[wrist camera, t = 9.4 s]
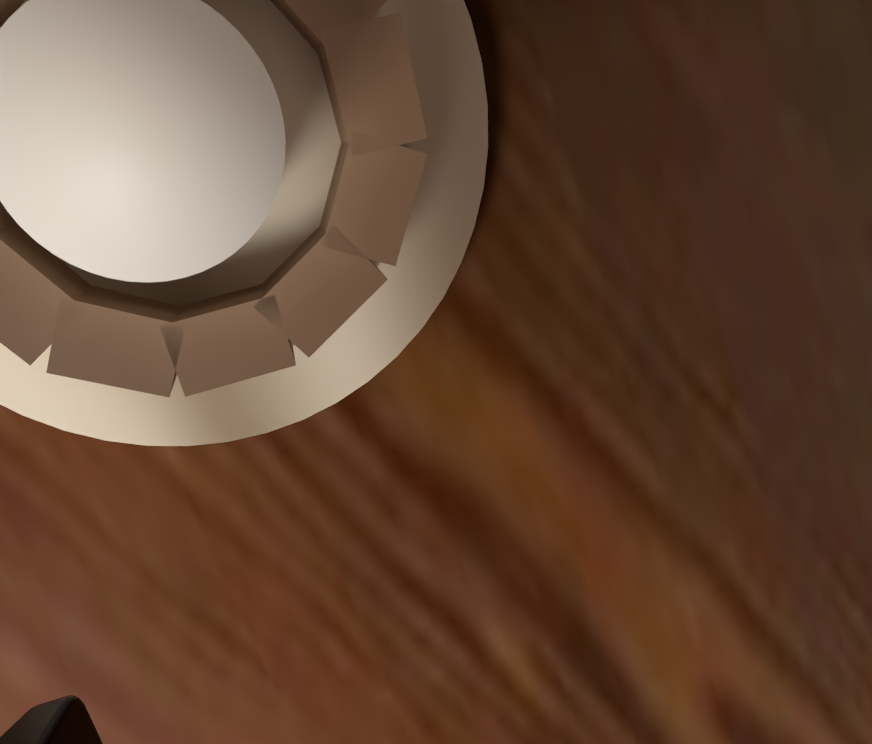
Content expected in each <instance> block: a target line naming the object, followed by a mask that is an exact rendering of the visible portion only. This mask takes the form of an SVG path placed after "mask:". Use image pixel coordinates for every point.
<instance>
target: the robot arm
mask: <svg viewBox="0 0 872 744" xmlns="http://www.w3.org/2000/svg"><path fill="white" fill-rule="evenodd" d="M0 744H102V741H101V739H100V737H99V735H98V733H97V731H96V728H95V726H94V724H93V722H92V720H91V718H90V715H89V713H88V711H87V709H86V707H85V705H84V703H83V702H82V701H81V700H80V699H79V698H78V697H75V696H72V695H70V696H66V697H63V698H59V699H56V700H53V701H49V702H46V703H43V704H40V705H37V706H35V707H33V708H31V709H30V710H29V711H28V712H27V713H26V714H25V715H23V716H22V717H21V718H20V719H19V720H18V721H17V722H16V723H15V724H14V725H13V726H12V727H11V728H10V729H9V730H8V731H7V732H5V733H4V734H3V735H2V736H1V737H0Z"/></svg>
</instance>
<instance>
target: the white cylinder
mask: <svg viewBox="0 0 872 744" xmlns="http://www.w3.org/2000/svg"><path fill="white" fill-rule="evenodd" d="M285 145H286V140H285V129H284V121H283V116H282V111H281V107H280V102H279V100H278V97H277V94H276V91H275V88H274V85H273V83H272V81H271V79H270V77H269V75H268V73H267V71H266V69H265V67H264V65H263V63H262V62H261V60H260V59H259V57H258V55H257V54H256V52H255V51H254V49H253V48H252V47H251V45H250V44H249V43H248V42H247V41H246V39H245V38H244V37H243V36H242V34H241V33H240V32H239V31H238V30H237V29H236V28H235V27H234V26H233V25H232V24H231V23H230V22H229V21H227V20H226V19H225V18H224V17H223V16H222V15H221V14H219V13H218V12H217V11H215V10H214V9H213V8H211V7H210V6H209V5H207V4H206V3H204V2H202V1H201V0H29V1H28V2H26V3H25V4H23V5H22V6H21V7H20V8H19V9H18V10H17V11H16V12H15V13H14V14H12V15H11V16H10V17H9V18H8V20H7V21H6V22H5V23H4V25H3V26H2V27H1V28H0V201H1V203H2V204H3V206H4V207H5V209H6V210H7V211H8V213H9V214H10V215H11V216H12V217H13V219H14V220H15V221H16V222H17V223H18V225H19V226H20V227H21V228H22V229H23V230H24V231H25V232H26V233H28V234H29V235H30V236H31V237H32V238H33V239H34V240H35V241H36V242H37V243H39V244H40V245H41V246H43V247H44V248H46V249H47V250H48V251H50V252H51V253H52V254H54V255H56V256H57V257H59V258H61V259H63V260H64V261H66V262H68V263H69V264H71V265H74V266H76V267H78V268H81V269H83V270H85V271H88V272H90V273H93V274H97V275H100V276H103V277H107V278H111V279H117V280H122V281H128V282H146V283H149V282H163V281H171V280H176V279H181V278H185V277H188V276H191V275H194V274H197V273H200V272H203V271H205V270H207V269H209V268H211V267H213V266H215V265H217V264H219V263H221V262H222V261H224V260H225V259H227V258H228V257H230V256H231V255H233V254H234V253H235V252H236V251H238V250H239V249H240V248H241V247H242V246H243V245H244V244H245V243H247V242H248V240H249V239H250V238H251V237H252V236H253V235H254V233H255V232H256V231H257V230H258V229H259V227H260V226H261V224H262V223H263V221H264V220H265V218H266V217H267V215H268V213H269V211H270V209H271V207H272V205H273V203H274V201H275V198H276V196H277V193H278V190H279V186H280V183H281V180H282V175H283V169H284V163H285Z"/></svg>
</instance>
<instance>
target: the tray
mask: <svg viewBox="0 0 872 744" xmlns="http://www.w3.org/2000/svg"><path fill="white" fill-rule="evenodd" d="M28 1H29V0H0V28H1V27H2V26H3V25H4V23H5V22H6V21H7V20H8V18H9V17H10V16H11V15H12V14H14V13H15V12H16V11H17V10H18V9H19V8H20V7H21V6H22V5H23V4H25V3H26V2H28ZM201 1H202V2H204V3H206V4H207V5H209V6H210V7H211V8H213V9H214V10H215V11H217V12H218V13H219V14H221V15H222V16H223V17H224V18H225V19H226V20H227V21H229V22H230V23H231V24H232V25H233V26H234V27H235V28H236V29H237V30H238V31H239V32H240V33H241V34H242V36H243V37H244V38H245V39H246V41H247V42H248V43H249V44H250V45H251V47H252V48H253V49H254V51H255V52H256V54H257V55H258V57H259V59H260V60H261V62H262V63H263V65H264V67H265V69H266V71H267V73H268V75H269V77H270V79H271V81H272V83H273V85H274V88H275V91H276V94H277V97H278V100H279V102H280V107H281V111H282V116H283V121H284V129H285V140H286V145H285V163H284V169H283V175H282V180H281V183H280V186H279V190H278V193H277V196H276V198H275V201H274V203H273V205H272V207H271V209H270V211H269V213H268V215H267V217H266V218H265V220H264V221H263V223H262V224H261V226H260V227H259V229H258V230H257V231H256V232H255V233H254V235H253V236H252V237H251V238H250V239H249V240H248V242H247V243H245V244H244V245H243V246H242V247H241V248H240V249H239V250H238V251H236V252H235V253H234V254H233V255H231V256H230V257H228V258H227V259H225V260H224V261H222V262H221V263H219V264H217V265H215V266H213V267H211V268H209V269H207V270H205V271H203V272H200V273H197V274H194V275H191V276H188V277H185V278H181V279H176V280H171V281H163V282H149V283H146V282H128V281H122V280H117V279H111V278H107V277H103V276H100V275H97V274H93V273H90V272H88V271H85V270H83V269H81V268H78V267H76V266H74V265H71V264H69V263H68V262H66V261H64V260H63V259H61V258H59V257H57V256H56V255H54V254H52V253H51V252H50V251H48V250H47V249H46V248H44V247H43V246H41V245H40V244H39V243H37V242H36V241H35V240H34V239H33V238H32V237H31V236H30V235H29V234H28V233H26V232H25V231H24V230H23V229H22V228H21V227H20V226H19V225H18V223H17V222H16V221H15V220H14V219H13V217H12V216H11V215H10V214H9V213H8V211H7V210H6V209H5V207H4V206H3V204H2V203H1V201H0V404H1V405H3V406H5V407H7V408H9V409H11V410H13V411H15V412H17V413H19V414H21V415H23V416H26V417H28V418H31V419H34V420H37V421H39V422H42V423H45V424H48V425H50V426H53V427H56V428H59V429H61V430H64V431H68V432H72V433H77V434H81V435H85V436H89V437H93V438H97V439H102V440H106V441H113V442H122V443H130V444H138V445H146V446H194V445H203V444H212V443H221V442H229V441H234V440H238V439H242V438H247V437H251V436H255V435H260V434H264V433H268V432H270V431H273V430H276V429H279V428H282V427H284V426H287V425H290V424H293V423H295V422H298V421H301V420H303V419H305V418H307V417H309V416H311V415H313V414H315V413H317V412H319V411H321V410H323V409H325V408H327V407H329V406H331V405H333V404H335V403H337V402H338V401H340V400H341V399H343V398H344V397H346V396H347V395H349V394H350V393H352V392H353V391H355V390H356V389H358V388H359V387H361V386H362V385H364V384H365V383H367V382H368V381H369V380H371V379H372V378H373V377H374V376H375V375H376V374H377V373H379V372H380V371H381V370H382V369H383V368H384V367H385V366H387V365H388V364H389V363H390V362H391V361H392V360H394V359H395V358H396V357H397V356H398V355H399V354H400V352H401V351H402V350H403V349H404V348H405V347H406V346H407V345H408V343H409V342H410V341H411V340H412V339H413V338H414V337H415V336H416V335H417V333H418V332H419V331H420V330H421V329H422V328H423V326H424V325H425V323H426V322H427V320H428V319H429V317H430V316H431V315H432V313H433V312H434V310H435V309H436V307H437V306H438V304H439V303H440V301H441V300H442V299H443V297H444V295H445V293H446V291H447V289H448V287H449V285H450V284H451V282H452V280H453V278H454V276H455V274H456V272H457V270H458V268H459V266H460V264H461V262H462V259H463V257H464V254H465V251H466V248H467V246H468V243H469V240H470V238H471V235H472V232H473V230H474V227H475V223H476V218H477V214H478V210H479V206H480V201H481V197H482V193H483V189H484V181H485V171H486V162H487V153H488V104H487V96H486V88H485V81H484V73H483V66H482V60H481V56H480V52H479V48H478V44H477V40H476V36H475V33H474V29H473V25H472V21H471V18H470V15H469V12H468V10H467V7H466V5H465V2H464V0H201Z"/></svg>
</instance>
